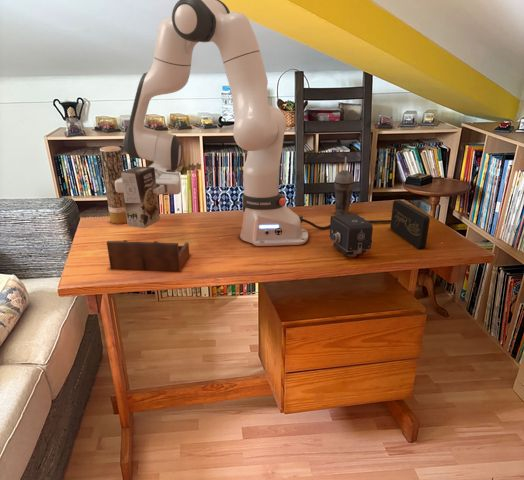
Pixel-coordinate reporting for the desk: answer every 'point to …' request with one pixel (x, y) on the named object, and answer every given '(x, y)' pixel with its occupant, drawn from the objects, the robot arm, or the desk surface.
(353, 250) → the camera
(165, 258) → the dark brown wooden box
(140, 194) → the coffee box
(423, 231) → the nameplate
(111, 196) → the wooden log
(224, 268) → the desk surface
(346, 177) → the beverage cup
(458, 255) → the desk surface
